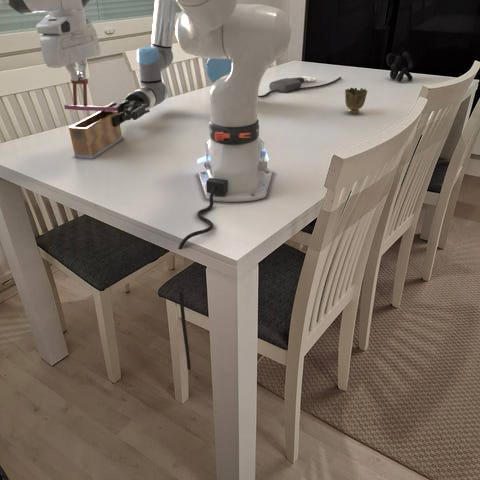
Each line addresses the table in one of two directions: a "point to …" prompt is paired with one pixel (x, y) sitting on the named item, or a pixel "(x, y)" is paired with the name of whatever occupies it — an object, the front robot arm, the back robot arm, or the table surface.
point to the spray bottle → (289, 83)
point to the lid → (85, 99)
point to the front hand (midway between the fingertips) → (79, 79)
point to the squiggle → (399, 66)
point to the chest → (94, 134)
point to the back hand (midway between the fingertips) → (104, 121)
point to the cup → (355, 99)
